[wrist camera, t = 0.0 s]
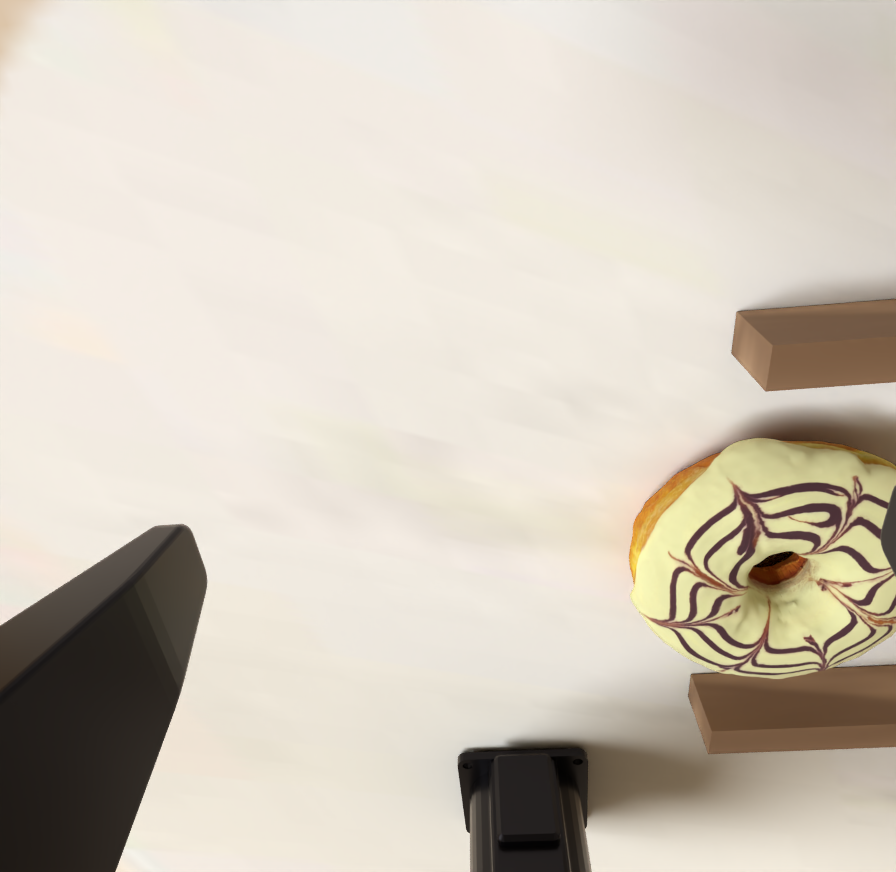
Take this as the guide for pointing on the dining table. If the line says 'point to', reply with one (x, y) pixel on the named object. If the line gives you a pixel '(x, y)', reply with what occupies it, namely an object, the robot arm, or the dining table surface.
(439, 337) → the dining table surface
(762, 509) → the decorated donut
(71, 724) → the robot arm
